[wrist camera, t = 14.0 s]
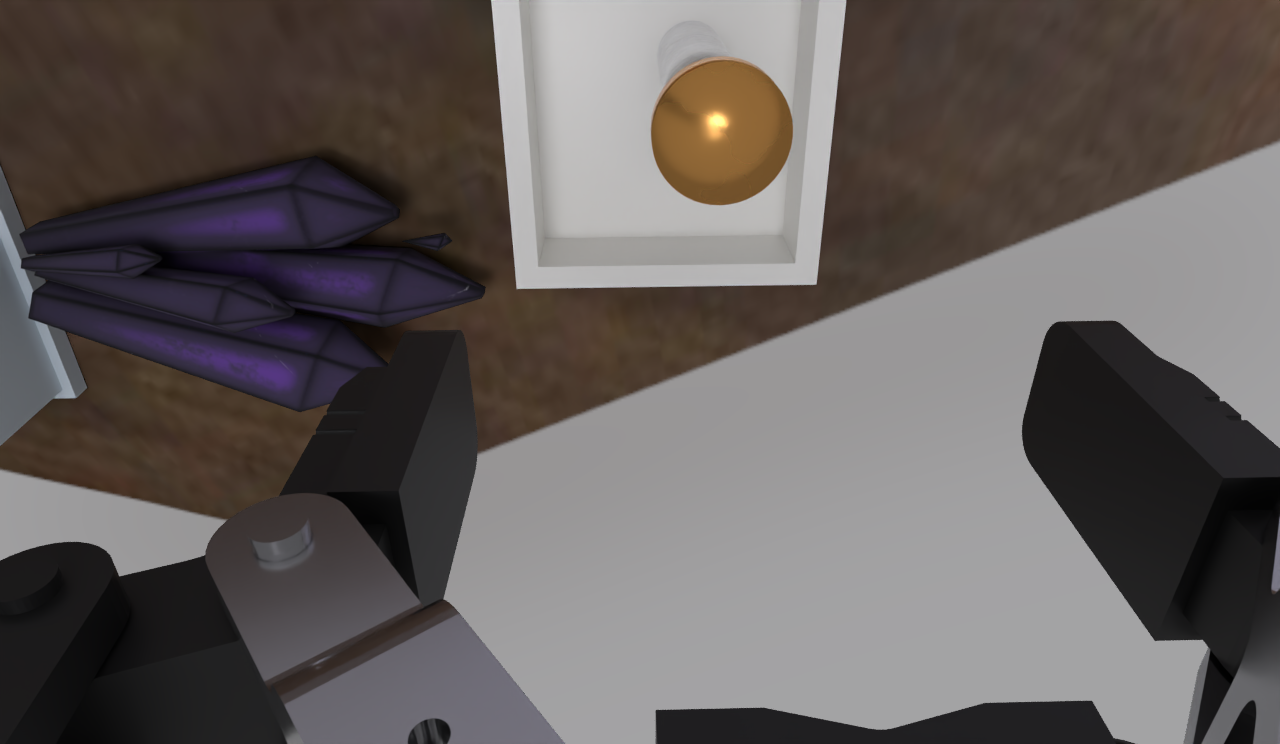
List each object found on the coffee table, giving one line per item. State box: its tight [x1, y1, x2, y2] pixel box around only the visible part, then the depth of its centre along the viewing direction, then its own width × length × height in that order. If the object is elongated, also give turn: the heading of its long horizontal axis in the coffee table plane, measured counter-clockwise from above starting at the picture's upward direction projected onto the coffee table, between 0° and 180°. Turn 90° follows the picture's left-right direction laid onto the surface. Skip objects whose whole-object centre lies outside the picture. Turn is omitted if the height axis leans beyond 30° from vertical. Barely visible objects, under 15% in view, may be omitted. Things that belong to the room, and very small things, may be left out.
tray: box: [491, 0, 846, 289], centre depth 34 cm, size 18×13×4 cm
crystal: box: [19, 156, 486, 412], centre depth 37 cm, size 7×12×20 cm
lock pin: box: [650, 20, 793, 205], centre depth 29 cm, size 4×4×13 cm
